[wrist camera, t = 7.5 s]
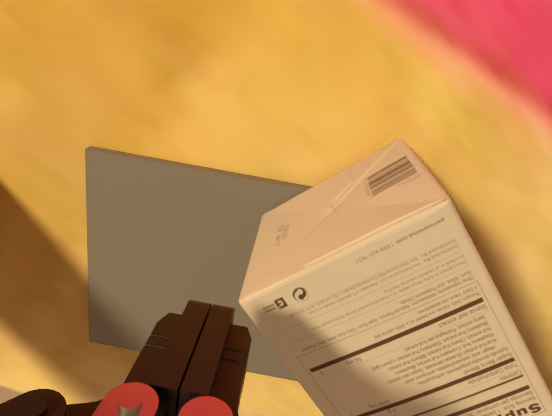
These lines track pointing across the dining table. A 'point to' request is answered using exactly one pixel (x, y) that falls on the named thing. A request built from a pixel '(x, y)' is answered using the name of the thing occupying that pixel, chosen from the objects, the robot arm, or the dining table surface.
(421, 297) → the supplement box
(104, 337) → the mat
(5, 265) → the dining table surface
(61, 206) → the dining table surface
